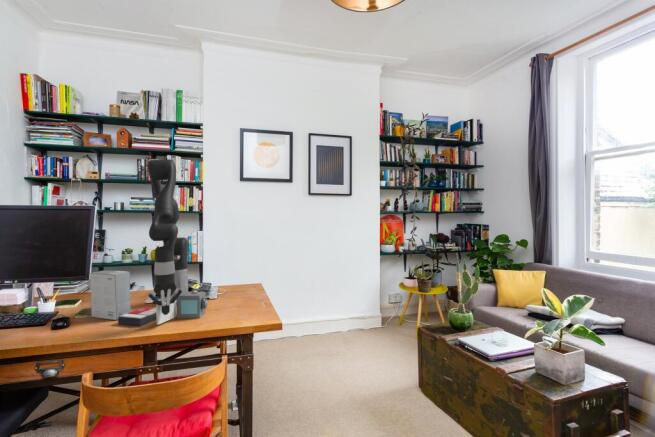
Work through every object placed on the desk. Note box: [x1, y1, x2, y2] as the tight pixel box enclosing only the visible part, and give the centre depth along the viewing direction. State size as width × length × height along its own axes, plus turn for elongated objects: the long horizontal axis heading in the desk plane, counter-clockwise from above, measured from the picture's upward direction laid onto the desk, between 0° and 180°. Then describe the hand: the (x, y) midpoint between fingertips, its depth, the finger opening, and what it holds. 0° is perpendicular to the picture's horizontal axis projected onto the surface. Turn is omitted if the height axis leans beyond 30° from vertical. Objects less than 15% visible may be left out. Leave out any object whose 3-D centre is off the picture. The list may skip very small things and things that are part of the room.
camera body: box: [174, 289, 209, 319], centre depth 151 cm, size 13×8×11 cm, turn 91°
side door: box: [155, 301, 175, 325], centre depth 142 cm, size 9×2×8 cm, turn 163°
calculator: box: [117, 306, 157, 328], centre depth 146 cm, size 11×4×15 cm
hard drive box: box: [89, 269, 132, 321], centre depth 151 cm, size 16×8×20 cm, turn 71°
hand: (165, 314), depth 138 cm, fingers closed
